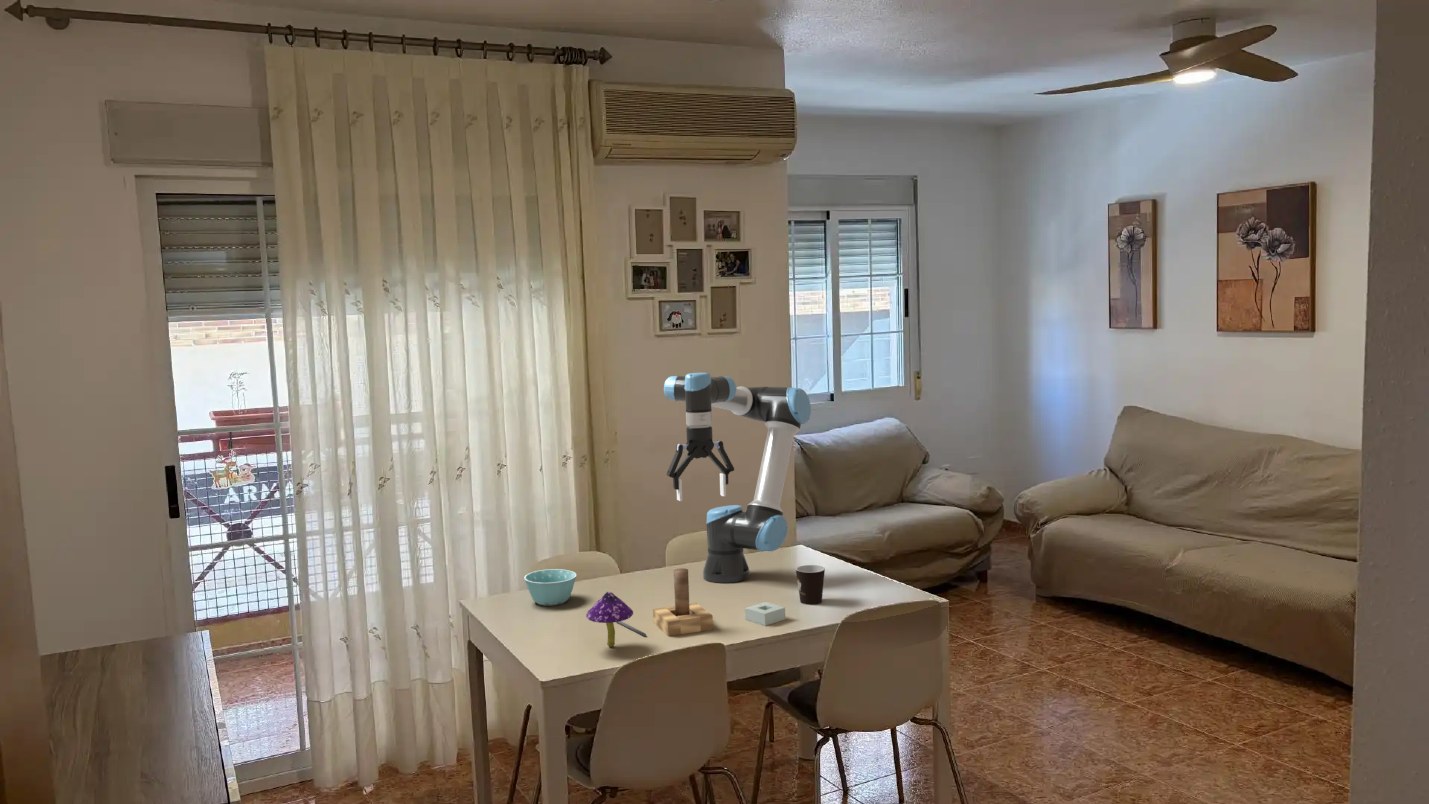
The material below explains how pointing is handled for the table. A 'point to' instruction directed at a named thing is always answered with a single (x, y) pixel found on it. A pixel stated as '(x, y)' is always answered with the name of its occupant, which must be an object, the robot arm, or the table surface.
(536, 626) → the table surface
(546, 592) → the bowl
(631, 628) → the dark grey rod
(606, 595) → the decorative mushroom
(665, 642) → the table surface
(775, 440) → the robot arm
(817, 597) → the coffee mug
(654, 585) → the table surface
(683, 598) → the brown wooden bar
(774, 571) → the table surface
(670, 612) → the wooden square socket block
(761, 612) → the grey square socket block
